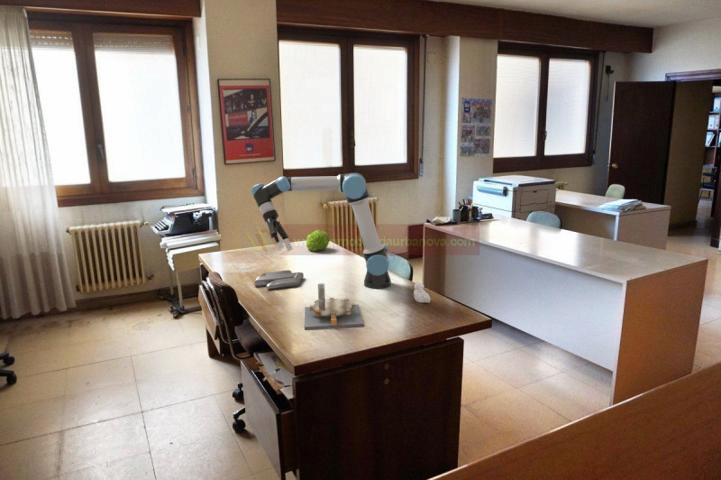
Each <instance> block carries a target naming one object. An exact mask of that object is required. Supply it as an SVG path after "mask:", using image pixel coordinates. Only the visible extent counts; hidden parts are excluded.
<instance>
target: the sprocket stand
mask: <svg viewBox="0 0 721 480" xmlns="http://www.w3.org/2000/svg"><path fill="white" fill-rule="evenodd" d="M303 326H304V330H321V329H337V328H338V329H339V328H356V327H359V328H360V327H364V321H363V317H362V313H361V310H360V305H359V304H355V309H352V310H351V314H349V315H347V314H344V315H340V316H336V318H331V316H322V315H320V316H315V313H314V311H310V306H305V307H304V325H303Z"/></svg>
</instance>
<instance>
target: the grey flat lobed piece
mask: <svg viewBox="0 0 721 480" xmlns="http://www.w3.org/2000/svg"><path fill="white" fill-rule="evenodd" d="M304 279H305V278H304V273H303V272H292V270H290V269H286V270H279V271H270V272H263V273H262V274H260V275H259V276H258V277H257V278H256V279H255V280H254V288H259V287H258V286H261V287H266V289H267V290H272V289H273V290H274V289H285V288H294V287H298V286H299V285H300V284H301V283H302V281H303V280H304Z"/></svg>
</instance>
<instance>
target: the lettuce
mask: <svg viewBox="0 0 721 480" xmlns="http://www.w3.org/2000/svg"><path fill="white" fill-rule="evenodd" d="M305 241H306V242H305V246H306V248H307V249H308V250H309V249H310V251H311V250H313V251H312V252H315V251H323V250H325V249H327V247H328V246H329V243H330V236H329V234H328V233H327V232H326V231H323V230H321V229H320V230H319V229H316V230H315V231H313V232H312V233H310V234H308V235H307V237H306V240H305Z"/></svg>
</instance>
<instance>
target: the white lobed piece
mask: <svg viewBox="0 0 721 480" xmlns="http://www.w3.org/2000/svg"><path fill="white" fill-rule="evenodd" d="M325 287H326V286H325V283H323V282H321V283H318V284H317V294H318V297H317V299H316V300H315V301H314V303H313V304H311V305H309V307H310V311H314V313H315V316H320V315H322V316H331V318H336V316H340V315H344V314H347V315H349V314H351V310H352V309H355V305H356V303H352V302H351V301H350V299H349V298H343V299H341V298H334V297H329V298H327V299H326V293H325V291H326V289H325Z"/></svg>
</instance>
